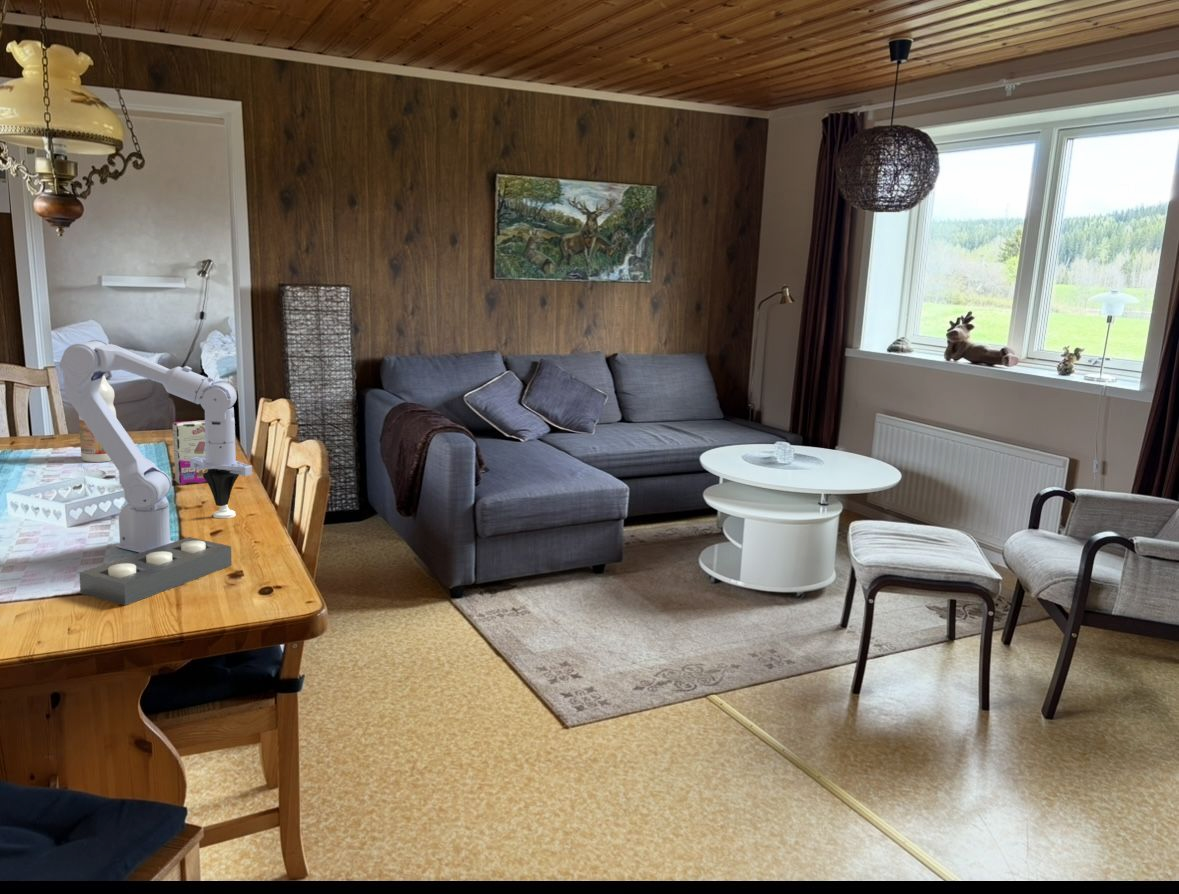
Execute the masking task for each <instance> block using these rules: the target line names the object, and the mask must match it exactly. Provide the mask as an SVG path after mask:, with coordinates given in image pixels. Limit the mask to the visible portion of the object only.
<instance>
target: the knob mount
mask: <svg viewBox="0 0 1179 894" xmlns="http://www.w3.org/2000/svg"><path fill="white" fill-rule="evenodd" d="M187 541H204V542H205V545H206V549H204V550H201V551H198V552H195V553H189V552H184V551H181V544H182V543H184V542H187ZM160 551H165V552H171V553H172V561H169V562H166V563H163V564H160V565H155V564H151V563H147V562H146V555H148V554H150V553H153V552H160ZM123 563H130V564H134V565H136V573H134V574H131V575H128V576H125V577H122V578H117V577H113V576H109V575H108V568H109V567H110V566H113V565H116V564H123ZM231 566H232V546H230V545H226V544H222V543H217V542H213V541H209V540H204V539H199V538H195V537H191V536H189V537H186V538H183V539H179V540H176V541H175V542H173V543H169V544H166V545H163V546H160V547H157V548H154V549H151V550H148V551H144V552H141V553H139V552H137V553H136V554H132V555H129V556H127V557H123V558H120V559H117V560H113V561H111V562H107V563H105V564H104V563H103V564H101V565H98V566H95V567H92V568H89V569H86V570H82V571H79V573H78V575H79V588H80V589H79V590H80V594H81V595H83V596H84V595H85V596H89V597H92V598H96V599H98V600H104V601H107V602H111V603H115V604H117V605H118V604H119V605H122V606H128V605H131V604H134V603H136V602H139V601H142V600H143V599H146V598H149V597H152V596H154V595H157V594H159V593H162V592H165V591H168V590H170V589H173V588H176V587H178V586H181V585H183V584H186V583H188V582H189V583H190V582H191V581H194V580H197V579H200V578H201V577H205V576H208V575H210V574H213V573H216V572H217V571H220V570H223V569H226V568H229V567H231Z"/></svg>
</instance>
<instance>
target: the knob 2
mask: <svg viewBox="0 0 1179 894" xmlns="http://www.w3.org/2000/svg"><path fill="white" fill-rule="evenodd" d="M204 549H206V545H205V542H204V541H187V542H184V543H182V544H181V551H184V552H189V553H195V552H198V551H201V550H204Z"/></svg>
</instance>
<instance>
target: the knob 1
mask: <svg viewBox="0 0 1179 894" xmlns="http://www.w3.org/2000/svg"><path fill="white" fill-rule="evenodd" d="M134 573H136V565H134V564H130V563H123V564H116V565H113V566H110V567H109V568H108V575H109V576H113V577H117V578H122V577H125V576H128V575H131V574H134Z"/></svg>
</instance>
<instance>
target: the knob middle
mask: <svg viewBox="0 0 1179 894" xmlns="http://www.w3.org/2000/svg"><path fill="white" fill-rule="evenodd" d="M169 561H172V553H171V552H165V551H160V552H153V553H150V554H148V555H146V562H147V563H151V564H155V565H160V564H163V563H166V562H169Z"/></svg>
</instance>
